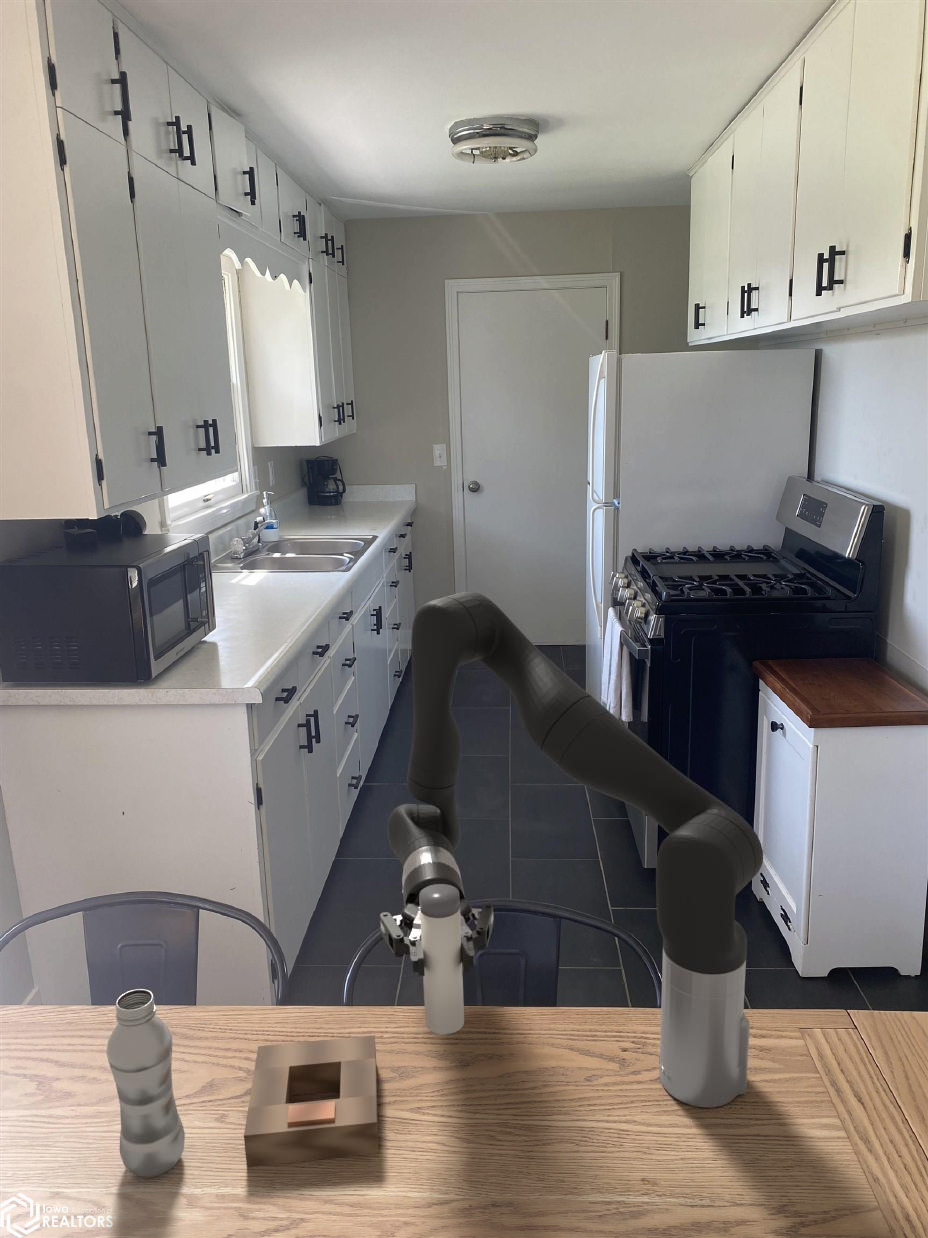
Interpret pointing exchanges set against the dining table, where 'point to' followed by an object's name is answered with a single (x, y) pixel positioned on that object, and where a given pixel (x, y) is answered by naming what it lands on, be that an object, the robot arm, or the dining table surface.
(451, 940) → the plug
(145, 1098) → the plastic bottle
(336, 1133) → the socket block
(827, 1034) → the dining table surface
